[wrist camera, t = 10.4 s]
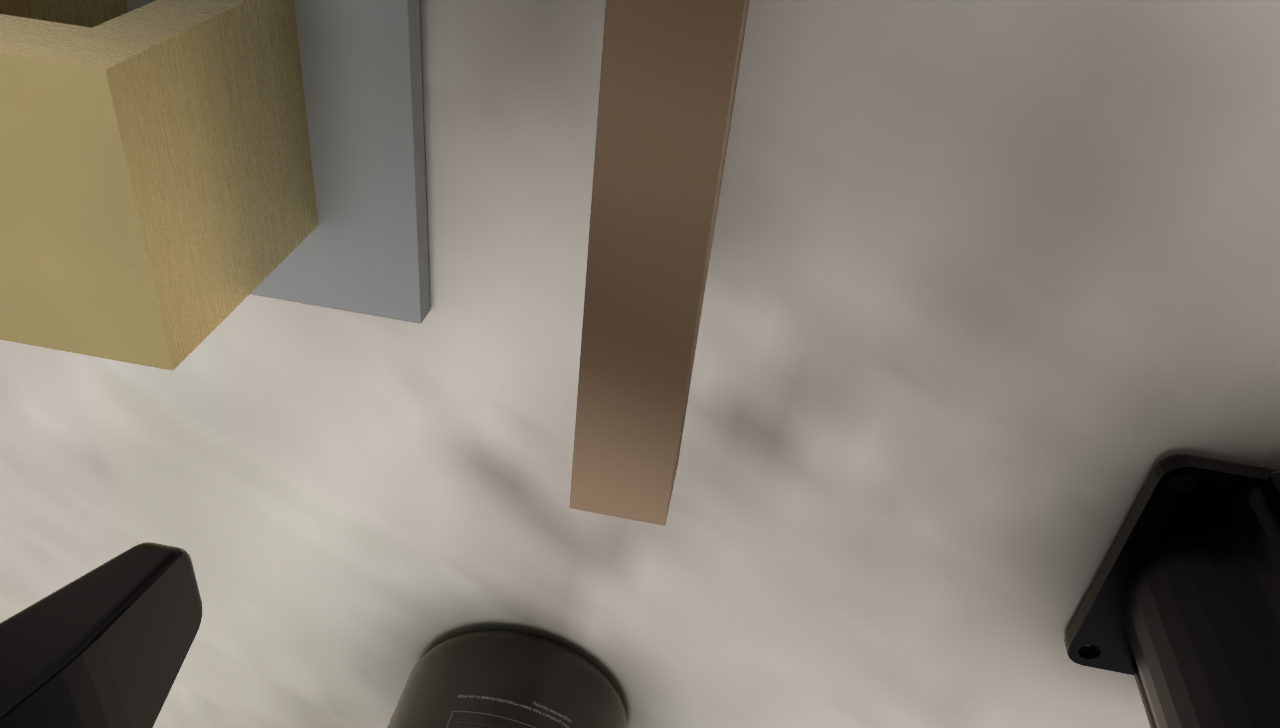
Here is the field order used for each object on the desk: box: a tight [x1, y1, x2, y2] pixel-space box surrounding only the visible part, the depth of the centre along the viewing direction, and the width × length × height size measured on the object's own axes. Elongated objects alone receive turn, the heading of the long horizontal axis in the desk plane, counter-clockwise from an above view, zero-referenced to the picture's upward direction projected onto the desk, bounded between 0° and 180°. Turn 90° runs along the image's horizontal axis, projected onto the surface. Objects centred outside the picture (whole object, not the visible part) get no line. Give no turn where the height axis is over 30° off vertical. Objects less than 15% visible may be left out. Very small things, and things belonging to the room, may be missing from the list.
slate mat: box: [126, 0, 430, 323], centre depth 19 cm, size 9×9×1 cm
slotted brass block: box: [0, 0, 318, 370], centre depth 17 cm, size 5×5×6 cm
